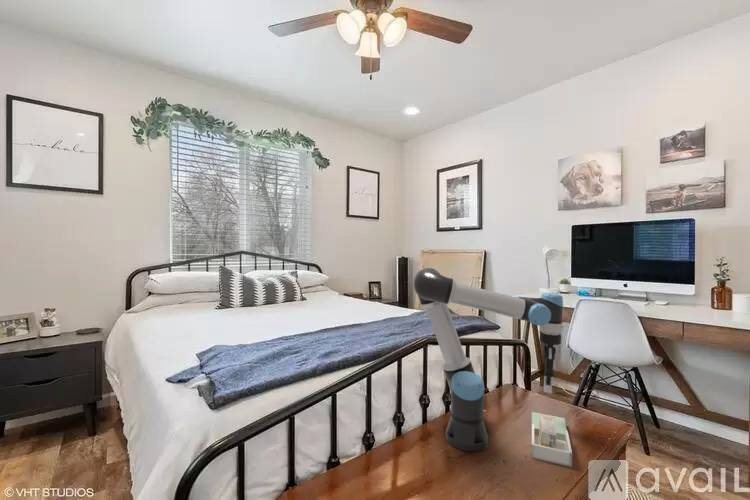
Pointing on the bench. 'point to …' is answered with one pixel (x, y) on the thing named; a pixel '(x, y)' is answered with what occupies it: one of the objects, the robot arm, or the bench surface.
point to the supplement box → (547, 432)
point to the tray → (552, 450)
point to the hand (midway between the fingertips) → (547, 391)
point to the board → (558, 421)
